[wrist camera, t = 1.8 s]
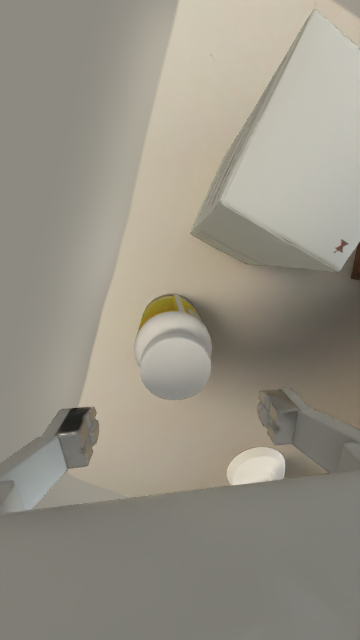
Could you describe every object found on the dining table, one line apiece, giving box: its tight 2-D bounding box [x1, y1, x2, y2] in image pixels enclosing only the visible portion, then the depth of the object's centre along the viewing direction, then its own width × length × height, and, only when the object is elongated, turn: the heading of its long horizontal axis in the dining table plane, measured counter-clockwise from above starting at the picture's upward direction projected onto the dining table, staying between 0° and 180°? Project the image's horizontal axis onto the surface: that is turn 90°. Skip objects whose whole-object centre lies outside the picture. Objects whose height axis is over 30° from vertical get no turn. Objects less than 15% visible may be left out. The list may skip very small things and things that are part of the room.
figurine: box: [227, 447, 285, 485], centre depth 24 cm, size 10×10×18 cm
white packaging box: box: [190, 9, 360, 272], centre depth 15 cm, size 7×7×13 cm
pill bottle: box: [135, 294, 212, 400], centre depth 18 cm, size 6×6×11 cm
